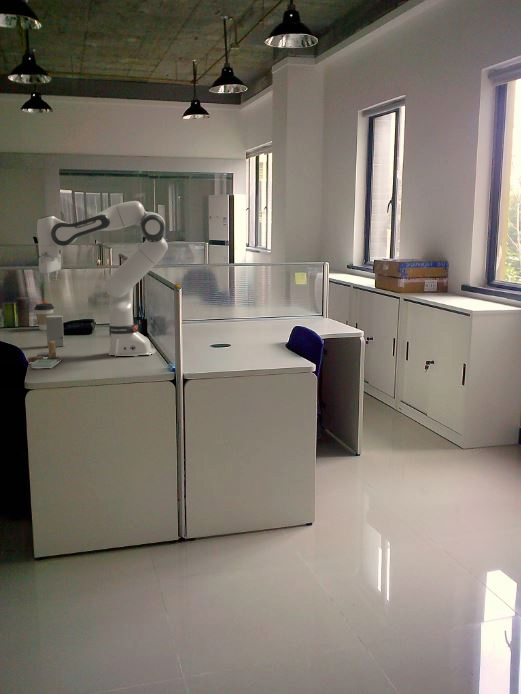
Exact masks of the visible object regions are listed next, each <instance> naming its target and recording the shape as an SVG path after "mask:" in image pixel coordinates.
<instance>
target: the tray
mask: <svg viewBox="0 0 521 694" xmlns="http://www.w3.org/2000/svg"><path fill="white" fill-rule="evenodd" d="M56 363H57V359H54V360H45V359H44V360H36V361H35V362H33V363H31V364H30V365H31V367H52V366H53V365H55V364H56Z"/></svg>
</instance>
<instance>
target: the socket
mask: <svg viewBox="0 0 521 694" xmlns="http://www.w3.org/2000/svg"><path fill="white" fill-rule="evenodd" d="M56 359H57V362H58V361H60V360H61V359H62V356H56ZM44 360H49V357H48V358H47V359H44Z"/></svg>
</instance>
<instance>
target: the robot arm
mask: <svg viewBox="0 0 521 694" xmlns="http://www.w3.org/2000/svg"><path fill="white" fill-rule="evenodd" d="M130 226H139V227H140V228H141V229H140V230H141V231H142V234H143V235H144V238H145V241H143V243H142V244H141V245H140V246H139V247H138V248H137V249H136V250H135V251H134V252H133V253H132V254H131V255H130V256H128V258H127V259H125V261H124V262H122V264H121V265H119V267H117V269H116V270H114V271H113V272H112V273H111V274H110V275H109V276H108V277H107V279H106V280H105V284H104V289H105V291H106V293H107V295H109V302H108V303H109V306H108V314H109V315H108V317H109V318H108V319H109V326H108V333H109V337H110V338H109V340H110V341H109V350H108V352H107V353H108V354H107V355H109V356H111V355H115V356H114V357H116V356H134V357H139V356H138V355H149V356H152V355H154V354H155V353H157V351H156V349H155V348H153V347H152V345H151V341H150V340H149V338H148V337H147V336H144V335H143V334H141V333H140V332H139V331H138V330H139V326H138V324H135V323H134V315H133V313H134V312H133V302H134V301H133V298H134V296H133V295H134V294H133V293H134V291H133V290H134V286H135V285H136V284H138V283H139V282H140V281H141V280H142V279H143V278H144V277H145V276H146V275H147V274H148V273H150V271H151V270H152V269H153V268H154V267H155V266H156V265H157V264H158V263H159V262H160V261H161V259H162V258H163V257H164V256H165V254H166V253H167V251H168V249H169V245H168V243H167V241H166V239H165V238H164V237H163V236H164V232H165V227H166V222H165V219H164V217H163V216H162V214H161V213H159V212H156V211H151V210H146V209H145V207H144V205H143V204H142V203H141V202H140V201H138V200H132V201H126V202H125V201H124V202H121V203H117V204H114V205H111V206H109V207H108V208H105V209H104V210H102V211H100V212H99V213H96V214H95V215H94V216H92V217H88V218H85V219H83V220H80V221H76V222H72V223H71V222H66V221H64V220H61V219H59V218H57V217H56V216H54V215H46V216H41V217H39V219H38V220H37V224H36V231H37V238H38V244H37V246H38V256H39V258H38V272H39V274H43V278H44V281H45V283H46V284H49V283H51V280H52V281H54V282H55V281H57V280H58V271H61V270H62V256H61V255H62V253H63V251H62V249H60V247H59V246H64V247H65V246H68V245H70V244H73V243H74V242H76V241H77V239H79V237H81V236H84V235H85V236H86V235H88V234H92V233H94V232H100V231H101V232H102V231H104V232H105V231H107V232H108V231H109V232H110V231H116V230H117V231H118V230H121V229H125V228H127V227H130ZM50 274H52V277H51V279H50ZM151 354H152V355H151Z"/></svg>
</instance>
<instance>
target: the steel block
mask: <svg viewBox="0 0 521 694" xmlns="http://www.w3.org/2000/svg"><path fill="white" fill-rule="evenodd" d="M36 356H43V357H49V351H48V352H39V353H37V354H36Z"/></svg>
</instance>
